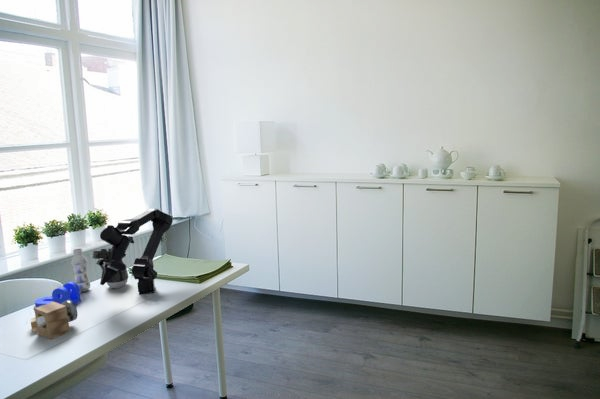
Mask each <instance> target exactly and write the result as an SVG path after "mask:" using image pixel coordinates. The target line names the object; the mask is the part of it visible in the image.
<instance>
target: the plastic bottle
mask: <svg viewBox="0 0 600 399" xmlns="http://www.w3.org/2000/svg"><path fill="white" fill-rule="evenodd" d="M72 252H73V253H72V254H73V256H72V258H71V260H70V262H71V266H72V269H73V275H74V282H75V283H76V284H77V285H78V286H79V289H80V293H83V292H87V291H89V290H90V289H91V282H90V279H89V274H88V258H87V257H86V256H85V255H84V254H83V253H84V252H83V249H82V248H74V249H73V250H72Z"/></svg>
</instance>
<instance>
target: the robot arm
mask: <svg viewBox="0 0 600 399" xmlns="http://www.w3.org/2000/svg"><path fill="white" fill-rule="evenodd" d="M173 220H174V219H173V218H172V216H171V215H170V214H168V213H166V212H163V211H161V210H160V209H158V208H149V209H147V210H145V211H143V212H142V213H140V214H138V215H137V216H135V217H133V218H130V219H124V220H121V221H118V223H117V225H115V226H114V225H112V224H110V225H109V224H108V225H107V227H104V229H103V230H102V231H100V235H99V238H100V240H102V241H103V242H105V243H107V244H109V245H111V247H110V248H108V249H107V248H100V249H99V250H93V253H92V259H95V260H97V262H96V263H95V265H98V266H99V267H100V269H101V276H100V282H99V284H100V285H101V286H104V285H105V284H107V281H108V280H109V279H111V278H112V277H113V276H114V275H115V274H117V273H118V271H117V270H118V269H119V270H121V271H123V272H125V269H127V264H125V263H124V264H123V263H121V260H122V261H123V259H122V258H123V256H125V257H127V256H126V255H127V254H126V252H127V250H128V248H129V245H130V244H134V243H135V240H134V238H133V236H132V235H135V234H137V232H138V231H139V230H140V228H141V227H142V226H143V225H145V224H147V223H148V222H152V231H151V234H150V236H149V239H148V241H147V244H146V246H145V248H144V251H143V253H142V255H141V256H140V257H136V258H135V259H134V262H133V264H132V265H131V267H132V268H131V273H132V276H133V277H134V280H138V281H137V284H136V285H137V292H138V295H145V294H153V293H155V291H156V289H157V288H156V286H155V280H156V279H157V278H158V271H156V270H155V269H154V267H155V266H154V257H155V255H156V253H157V250H158V248H159V245H160V243H161V241H162V238H163V236H164V234H165V233H166V232H168V230H170V228H171V226H172V224H173ZM127 235H128V236H127ZM129 235H130V236H129Z"/></svg>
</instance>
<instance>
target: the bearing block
mask: <svg viewBox="0 0 600 399" xmlns="http://www.w3.org/2000/svg"><path fill="white" fill-rule="evenodd" d="M33 311H34V314H35V315H34V316H35V317H36V323H37V317H40V316H45V322H46V325H44V326H42V327H39V326H38V324H37V329H38V331H37V334H38V335H40V336H42V337H44V338H46V339H49V340H53V339H56V338H57V337H60V336H62V335H65V334H67V333H69V332H71V330H70V322H68V315H67V308H66V306H65V305H62V304H59V303H56V302H51V303H48V304H45V305H42V306H39V307H34V309H33ZM35 317H34V318H35Z"/></svg>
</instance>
